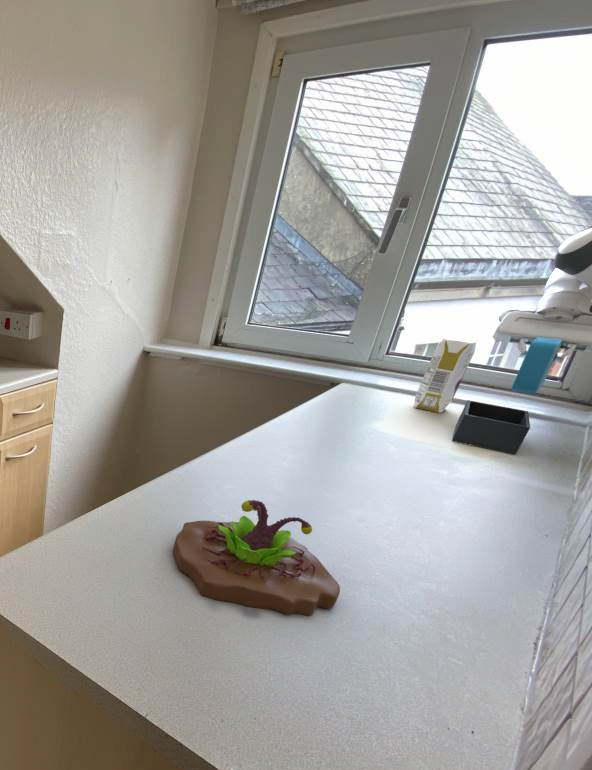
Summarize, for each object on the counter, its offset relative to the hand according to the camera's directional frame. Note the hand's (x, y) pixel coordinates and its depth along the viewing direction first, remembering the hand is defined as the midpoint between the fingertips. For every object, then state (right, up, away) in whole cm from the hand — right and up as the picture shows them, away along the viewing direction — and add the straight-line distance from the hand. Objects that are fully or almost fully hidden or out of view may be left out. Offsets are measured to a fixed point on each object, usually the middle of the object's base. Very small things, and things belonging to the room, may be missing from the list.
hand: (540, 358), depth 134 cm
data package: (-2, -7, +2) cm, 8 cm away
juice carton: (-11, -10, +19) cm, 24 cm away
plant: (-103, -43, -55) cm, 124 cm away
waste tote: (-16, -20, -2) cm, 26 cm away
